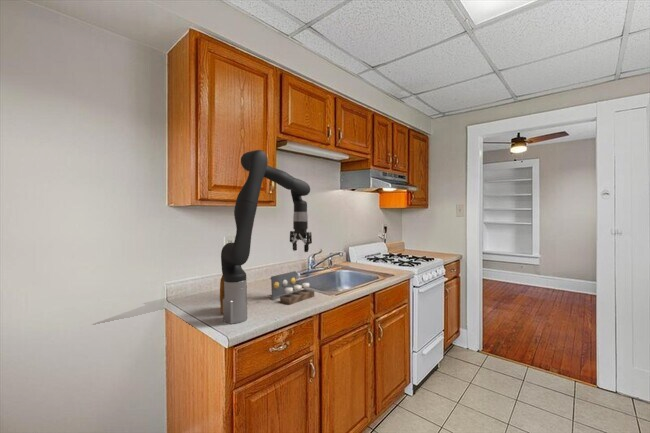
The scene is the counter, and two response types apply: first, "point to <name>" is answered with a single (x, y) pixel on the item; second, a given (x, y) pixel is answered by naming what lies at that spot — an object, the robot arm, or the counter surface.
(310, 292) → the button board
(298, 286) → the button mid
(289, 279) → the pattern card
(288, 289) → the button near
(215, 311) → the counter surface
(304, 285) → the button far
